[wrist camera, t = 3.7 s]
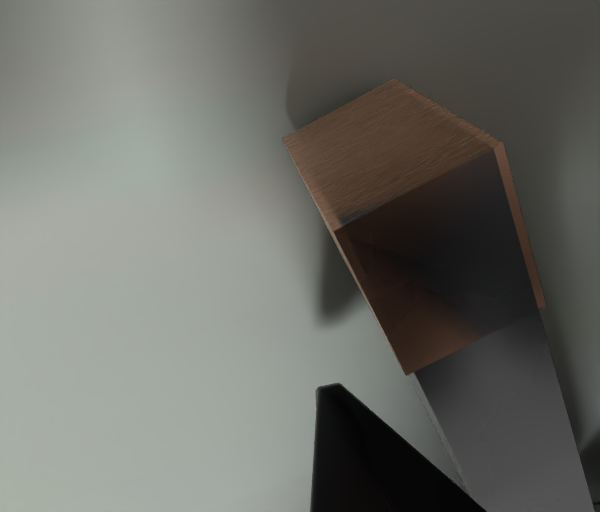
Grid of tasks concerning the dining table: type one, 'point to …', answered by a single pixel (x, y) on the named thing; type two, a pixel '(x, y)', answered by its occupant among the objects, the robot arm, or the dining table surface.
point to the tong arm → (449, 287)
